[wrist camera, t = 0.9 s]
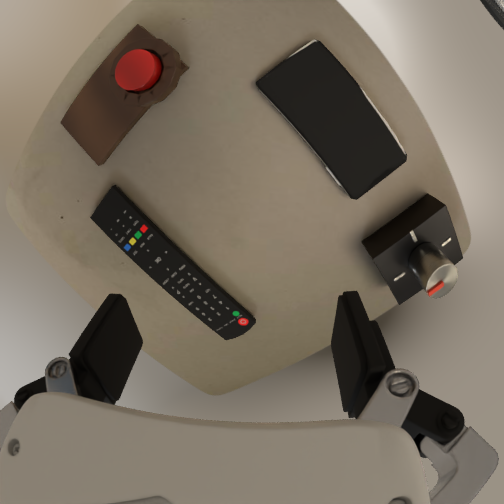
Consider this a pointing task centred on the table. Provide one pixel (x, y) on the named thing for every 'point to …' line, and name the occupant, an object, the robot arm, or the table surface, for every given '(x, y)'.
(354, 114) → the smartphone
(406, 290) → the dimmer panel
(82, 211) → the table surface
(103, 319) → the robot arm
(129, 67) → the light button
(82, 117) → the switch block
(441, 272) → the dimmer knob
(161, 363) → the table surface
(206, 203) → the table surface
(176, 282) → the remote control
